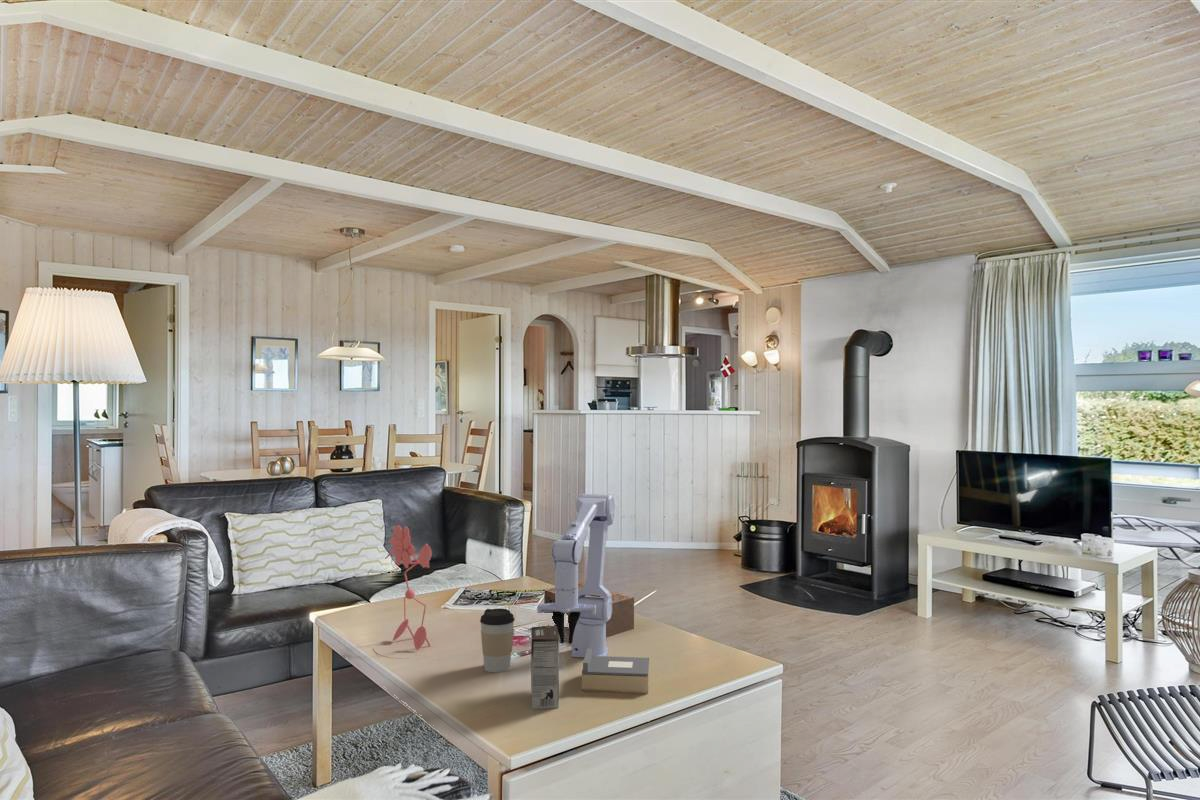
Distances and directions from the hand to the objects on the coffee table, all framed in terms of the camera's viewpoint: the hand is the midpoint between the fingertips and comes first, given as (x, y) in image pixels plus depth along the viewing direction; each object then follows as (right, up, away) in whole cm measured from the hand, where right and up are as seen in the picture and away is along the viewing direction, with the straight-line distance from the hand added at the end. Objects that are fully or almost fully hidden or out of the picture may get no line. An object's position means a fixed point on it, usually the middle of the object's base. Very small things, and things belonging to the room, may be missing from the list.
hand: (566, 642), depth 183 cm
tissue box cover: (+5, -10, +47) cm, 48 cm away
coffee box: (-5, -10, -12) cm, 16 cm away
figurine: (-48, -10, +25) cm, 56 cm away
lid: (+12, -6, -1) cm, 14 cm away
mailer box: (+12, -10, -1) cm, 16 cm away
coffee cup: (-19, -10, +10) cm, 23 cm away
